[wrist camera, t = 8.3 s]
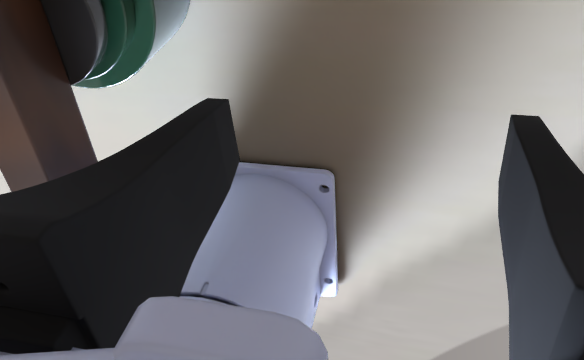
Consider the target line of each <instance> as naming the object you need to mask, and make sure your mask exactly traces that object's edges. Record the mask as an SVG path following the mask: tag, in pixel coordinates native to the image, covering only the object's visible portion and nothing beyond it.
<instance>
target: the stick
mask: <svg viewBox="0 0 584 360" xmlns="http://www.w3.org/2000/svg"><path fill="white" fill-rule="evenodd" d="M97 162H98V161H97V158H96V155H95V152H94V150H93V147H92V144H91V141H90V138H89V135H88V133H87V130H86V127H85V124H84V121H83V119H82V116H81V113H80V110H79V107H78V105H77V102H76V99H75V96H74V93H73V90H72V88H71V85H70V82H69V79H68V76H67V74H66V71H65V68H64V65H63V62H62V59H61V57H60V54H59V51H58V48H57V45H56V43H55V40H54V37H53V34H52V31H51V28H50V26H49V23H48V20H47V17H46V14H45V12H44V9H43V6H42V3H41V0H0V170H1V172H2V174H3V176H4V178H5V180H6V182H7V184H8V186H9V188H10V190H11V192H14V191H17V190H21V189H25V188H28V187H32V186H35V185H38V184H41V183H45V182H48V181H51V180H54V179H57V178H59V177H62V176H65V175H67V174H70V173H72V172H75V171H77V170H80V169H83V168H85V167H88V166H90V165H92V164H95V163H97Z"/></svg>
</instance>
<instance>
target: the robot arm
mask: <svg viewBox="0 0 584 360" xmlns="http://www.w3.org/2000/svg"><path fill="white" fill-rule="evenodd" d="M239 161H240V158H239V153H238V147H237V142H236V137H235V131H234V126H233V121H232V116H231V110H230V105H229V100H228V99H212V98H207V99H205V100H203V101H201V102H200V103H198V104H196V105H195V106H193V107H191V108H190V109H188V110H187V111H185V112H184V113H182V114H180V115H179V116H177V117H176V118H174V119H173V120H171V121H170V122H168V123H166V124H165V125H163V126H162V127H160V128H159V129H157V130H156V131H154V132H152V133H151V134H149V135H147V136H146V137H144V138H142V139H140V140H139V141H137V142H135V143H134V144H132V145H130V146H128V147H127V148H125V149H123V150H121V151H119V152H117V153H115V154H113V155H111V156H109V157H107V158H105V159H103V160H101V161H99V162H97V163H95V164H92V165H90V166H88V167H85V168H83V169H80V170H77V171H75V172H72V173H70V174H67V175H65V176H62V177H59V178H57V179H54V180H51V181H48V182H45V183H41V184H38V185H35V186H32V187H28V188H25V189H21V190H17V191H14V192H10V193H5V194H1V195H0V360H328V352H327V350H326V348H325V346H324V344H323V342H322V340H321V338H320V336H319V335H318V333H317V332H315V331H314V330H313V329H312V326H313V322H314V318H315V314H316V310H317V306H318V302H319V298H320V296H326V297H334V296H336V295H337V292H338V266H337V236H336V206H335V178H334V175H333V174H332V172H330V171H329V170H325V169H313V168H301V167H289V166H278V165H266V164H254V163H242V162H239ZM321 185H326V186H327V187H328V188H323V187H322V186H321ZM498 217H499V226H500V234H501V242H502V250H503V257H504V265H505V273H506V280H507V288H508V300H509V360H584V174H583V173H582V172H581V171H580V169H579V168H578V167H577V166H576V165H575V163H574V162H573V161H572V160H571V159H570V157H569V156H568V155H567V154H566V152H565V151H564V150H563V149H562V147H561V146H560V144H559V143H558V142H557V140H556V139H555V138H554V136H553V135H552V134H551V132H550V131H549V129H548V128H547V126H546V125H545V124H544V122H543V121H542V120H541V118H540V117H539V116H526V115H511V118H510V123H509V128H508V134H507V139H506V145H505V150H504V155H503V161H502V166H501V172H500V177H499V193H498ZM328 278H331V279H328Z"/></svg>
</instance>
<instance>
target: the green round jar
mask: <svg viewBox="0 0 584 360" xmlns="http://www.w3.org/2000/svg"><path fill="white" fill-rule="evenodd" d="M41 3H42V6H43V9H44V12H45V14H46V17H47V20H48V23H49V26H50V28H51V31H52V34H53V37H54V40H55V43H56V45H57V48H58V51H59V54H60V57H61V59H62V62H63V65H64V68H65V71H66V74H67V76H68V79H69V82H70V85H71V86H72V85H73V86H77V87H83V88H105V87H111V86H114V85H117V84H120V83H122V82H124V81H126V80H128V79H130V78H131V77H132V76H134V75H135V74H136V73H137V72H138V71H139V70H140V69H141V68H142V67H143V66H144V65H145V64H146V63H147V62H148V61H149V60H150V59H151V58H152V57H153V56H154V55H155V54H156V53H157V52H158V51H159V50H160V49H161V48H162V47H163V46H164V45H165V44H166V43H167V42H168V41H169V40H170V39H171V38H172V37H173V35H174V34H175V33H176V32H177V31H178V30H179V28H180V27H181V25H182V24H183V22H184V19H185V17H186V15H187V12H188V8H189V5H190V0H41Z"/></svg>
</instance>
